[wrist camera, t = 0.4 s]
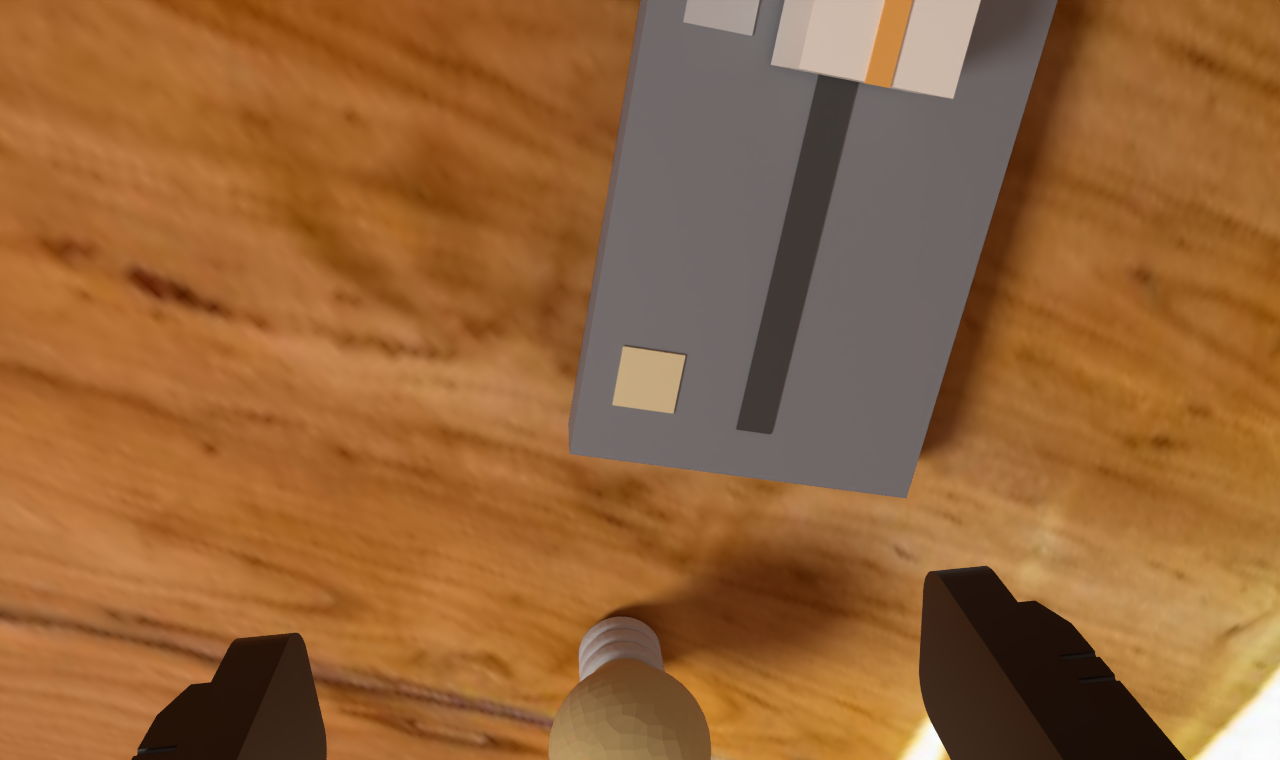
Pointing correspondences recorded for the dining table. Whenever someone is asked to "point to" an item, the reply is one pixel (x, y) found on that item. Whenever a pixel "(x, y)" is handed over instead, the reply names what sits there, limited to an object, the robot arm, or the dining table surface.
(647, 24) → the fader console
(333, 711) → the dining table surface
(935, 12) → the fader knob
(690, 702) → the light bulb
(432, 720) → the dining table surface
